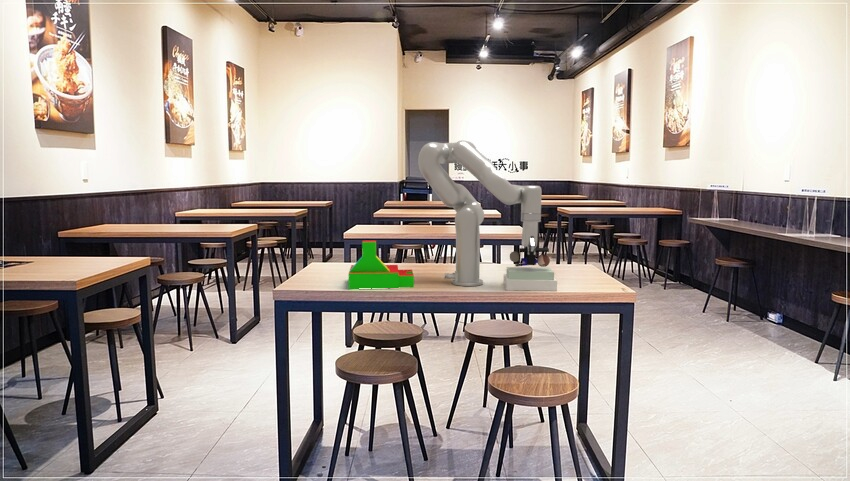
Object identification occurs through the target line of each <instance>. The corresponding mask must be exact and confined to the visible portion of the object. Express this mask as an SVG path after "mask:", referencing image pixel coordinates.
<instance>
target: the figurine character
mask: <svg viewBox="0 0 850 481" xmlns="http://www.w3.org/2000/svg"><path fill="white" fill-rule="evenodd" d="M524 252H528V250H527V248H525V247H520V248H519V249H518V251H511V252H510V253H509V260H510V262H513V263H515V264H514V266H515V267H525V266H526V267H527V266H528V265H527V258H524V257H522V254H521V253H524ZM535 253H541V254H539V255H538V256H537V258H536V256H535V265H534V266H536V265H538V267H547V266H549V264H550V260H551V259H550V256H549V255H547V254H545V253H550V249H549V247H536V248H535ZM521 257H522V258H521ZM517 262H518V263H517Z"/></svg>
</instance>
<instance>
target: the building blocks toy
mask: <svg viewBox="0 0 850 481" xmlns="http://www.w3.org/2000/svg"><path fill="white" fill-rule="evenodd" d="M361 245H362V246H361V247H362V248H361V250H362V256H360V258H359V259H358V260H357V261H356V262H355V263H354V264H353V265H350V268H349V271H348V290H349V289H359V288H371V289H370V290H373V289H372V288H399V287H415V277H414V273H413V272H414V271H413V269H399V266H398V264H385V263H384V262H383V261H382V260H381V259H380V258H379V257H378V255H377V240H362V241H361ZM399 289H400V288H399ZM359 290H360V289H359Z"/></svg>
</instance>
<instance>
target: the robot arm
mask: <svg viewBox="0 0 850 481" xmlns="http://www.w3.org/2000/svg"><path fill="white" fill-rule="evenodd" d="M417 160H418V161H417V164H418V165H417V166H418V168H419V172H420V173H421V175H422V176H423V178H424V180H425V181H426V182H427V184H428V185H429V187H431V189H432V190H433V191H434V193H435V194H436V196H437V197H438V198H439V200H440V201H441V202H442V204H443V205H445V206H446V207H447V208H453V209H454V211H455V212H456V213H455V216H454V226H455V271H454V272H452V273H446V272H445V273H444V279H452V280H451V284H452V285H455V286H459V287H460V286H462V287H476V286H482V285H483V284H484V280H482V279H480V267H481V266H480V264H481V263H480V261H481V260H480V259H481V256H480V255H481V247H480V246H481V245H480V244H481V237H480V236H481V234H480V225H481V224H482V223H483V222H484V219H485V211H484V210H483V207H482V206H481V205H480V204H479V202H478V201H477V199H476V198H475V197H474V196H473V195H472V193H471V192H470V191H469V190H468V189H467V188H466V186H464V185H463V184H460V183H456V182H455V181H454V180H453V179H452V178H451V177H450V174H449V173H448V172H447V171H446V170H445V169H444V167H442V165H441V164H443V165H444V164H459V165H461V166H462V167H463V168H464V169H465V170H467V171H468V172H469V173H470V174H471V175H472V176H474V178H475V179H477V180H478V182H479V183H480V184H481V185H483V187H484V188H486V190H488V191H489V192H490V193H491V194H492V195H493V196H494V197H495V198H496V199H498V200H499V201H500V202H501V203H503V205H504V204H505V206H506V205H507V206H511V205H514V204H515V205H516V204H521V206H520V210H521V211H520V222H523V223H522V233H521V245H522V247H523V248H527V250H528V252H523V254H524V255H523V258H527V265H526V266H536V265H535V257H536V252H535V248H538V247H537V246H538V234H539V232H538V231H539V230H538V229H539V227H538V224H539V223H541V222H542V220H541V219H542V216H541V215H542V195H543V194H542V187H541V186H540V185H519V184H511V182H510V181H509V180H507V179H506V178H505V177H504V176H503V175H502V174H501V173H499V172H498V169H497V168H496V167H495V165H494V163H493V162H492V161H490V159H488V158H487V157H486V156H485V155H484V154H483V153H481V151H479V150H478V149H477V147H476V145H475V144H474V143H473V142H471V141H468V140H463V139H462V140H458V141H456V142H445V143H444V142H443V143H442V142H436V141H432V142H427V143H426V144H424V145H423V146H422V147H421V149H420V152H419V153H418V159H417Z"/></svg>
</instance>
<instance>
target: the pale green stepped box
mask: <svg viewBox="0 0 850 481" xmlns="http://www.w3.org/2000/svg"><path fill="white" fill-rule="evenodd" d="M503 285H504V288H505V290H506V291H514V290H531V291H530V292H536V291H538V292H547V291H548V292H557V291H558V280H557V279H556V278H555V272H554V270H553V269H552V268H551V267H550V266H549V267H547V266H546V267H541V266H538V267H537V266H536V267H532V266H531V267H530V266H526V267H525V266H517V267H516V266H506V272H505V273H504V274H503Z"/></svg>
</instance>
